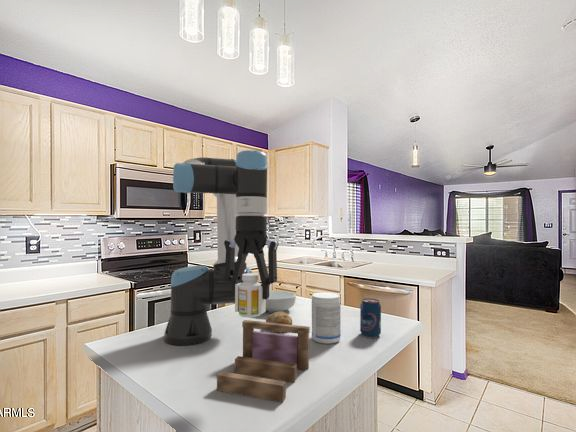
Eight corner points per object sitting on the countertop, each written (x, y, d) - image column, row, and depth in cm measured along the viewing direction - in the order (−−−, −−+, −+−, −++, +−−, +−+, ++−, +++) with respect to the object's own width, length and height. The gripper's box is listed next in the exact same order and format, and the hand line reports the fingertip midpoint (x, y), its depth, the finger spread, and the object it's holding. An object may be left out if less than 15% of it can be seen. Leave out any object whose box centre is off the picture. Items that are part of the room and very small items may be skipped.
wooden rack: (211, 389, 76) (211, 342, 76) (245, 356, 94) (245, 319, 94) (289, 403, 70) (290, 352, 70) (309, 366, 88) (310, 326, 89)
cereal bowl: (279, 303, 155) (280, 288, 155) (303, 311, 142) (303, 295, 143) (249, 309, 144) (249, 293, 145) (272, 318, 132) (272, 300, 132)
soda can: (357, 336, 112) (358, 301, 112) (363, 330, 118) (363, 297, 118) (378, 340, 109) (378, 303, 109) (382, 333, 115) (382, 299, 115)
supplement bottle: (262, 311, 81) (262, 272, 82) (260, 318, 76) (260, 275, 76) (240, 311, 81) (240, 272, 82) (237, 317, 76) (237, 275, 76)
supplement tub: (346, 341, 107) (346, 296, 108) (324, 346, 102) (324, 299, 102) (327, 332, 115) (327, 290, 116) (305, 337, 110) (306, 293, 110)
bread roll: (263, 340, 117) (260, 322, 114) (270, 320, 127) (268, 303, 123) (290, 342, 115) (288, 325, 112) (295, 322, 124) (294, 305, 121)
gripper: (209, 214, 79) (208, 312, 78) (281, 214, 73) (281, 319, 72) (225, 215, 86) (224, 304, 85) (292, 215, 80) (291, 311, 79)
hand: (250, 311), depth 79 cm, fingers closed on supplement bottle, 5 cm apart
